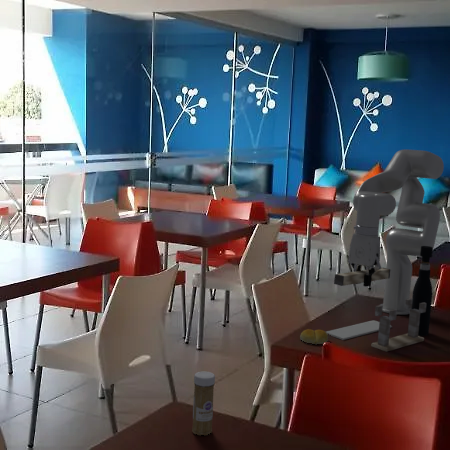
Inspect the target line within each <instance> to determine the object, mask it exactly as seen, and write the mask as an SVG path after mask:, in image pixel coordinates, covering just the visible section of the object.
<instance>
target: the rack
mask: <svg viewBox="0 0 450 450" xmlns="http://www.w3.org/2000/svg"><path fill="white" fill-rule="evenodd" d="M405 308H406V309H410V308H412V298H409V299H406V302H405ZM382 310H383V306H382V305H380V304H378V305H375V309H374V316H376V317H379V322H380V323H379V331H378V334H377V335H378V336H377V341H375V342H372V343H371V345H370V346H371V347H372V348H375V349H379V350H381V351H383V352H387V353H388V352H389V351H394V350H398V349H400V348H405V347H407V346H410V345H414V344H417V343H421V342H424V341H425V337H424V336H418V331H419V321H420V313H423V312H426V303H424V302H423V303H420V305H419V310H417V309H411V310H410V314H408V315H409V317H408V326H407V327H408V329H407V333H404V334H400V335H397V336H393V337H390V331H391V328H390V325H391V321H395V320H397V317H398V316H397V315H398V314H397V310H395V309H393V310H390V312H389V313H388V314H389V315H388V316H386V315H383V311H382Z"/></svg>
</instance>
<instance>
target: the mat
mask: <svg viewBox="0 0 450 450" xmlns="http://www.w3.org/2000/svg"><path fill="white" fill-rule="evenodd" d="M379 323H380V321H377V320H373V319H372V320H369V321H364V322H360V323H356V324H353V325H348V326H343V327H340V328H336V329H335V328H334V329H331V330H327V331H325V332H326V333H327V334H329V335H328V336H330V335H331V337H333V338H336V339H340V340H342V341H346V340H348V339H349V340H350V339H354V338H357V337H360V336H365V335H369V334H372V333H376V332H379ZM392 328H393V325H391V324H390V329H392Z"/></svg>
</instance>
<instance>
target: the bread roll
mask: <svg viewBox="0 0 450 450" xmlns="http://www.w3.org/2000/svg"><path fill="white" fill-rule="evenodd" d="M326 332H327V331H325V330H323V329H320V328H319V329H315V330H313V329H311V328H307V329H304V330H303V331H302V332H301V333H300V336H299V338H300V341H301V340H302V341H301V342H303V341H304V342H307V343H312V344H315V345H317V344H323V343H324V342H327V341H328V342H329V339H328V338H329V337H328V336H329V335H328V334H327V333H326ZM304 342H303V343H304ZM307 343H306V344H307ZM312 344H311V345H312Z"/></svg>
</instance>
